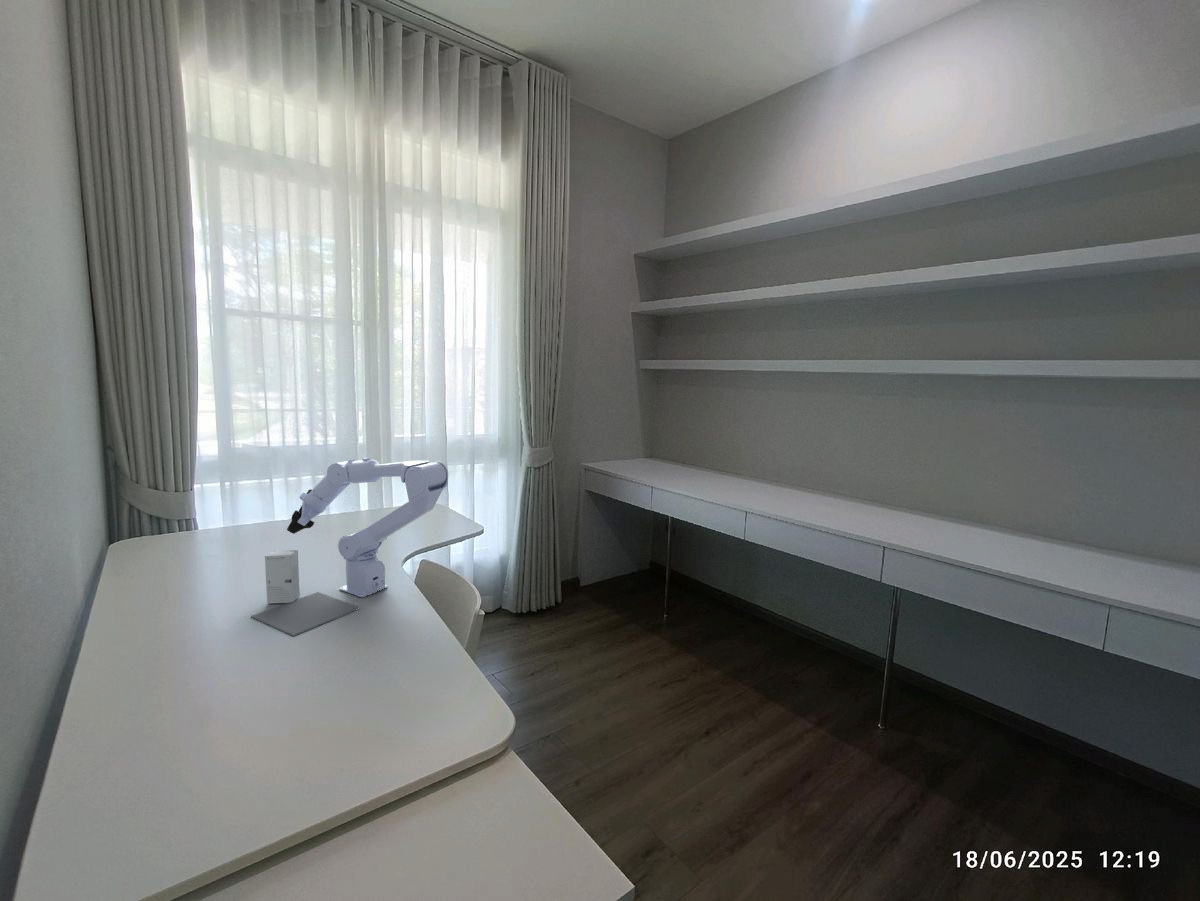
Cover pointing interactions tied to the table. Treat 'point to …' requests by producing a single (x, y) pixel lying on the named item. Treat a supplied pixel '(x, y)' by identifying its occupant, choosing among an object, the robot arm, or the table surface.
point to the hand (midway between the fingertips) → (296, 521)
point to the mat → (304, 613)
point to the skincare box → (282, 576)
